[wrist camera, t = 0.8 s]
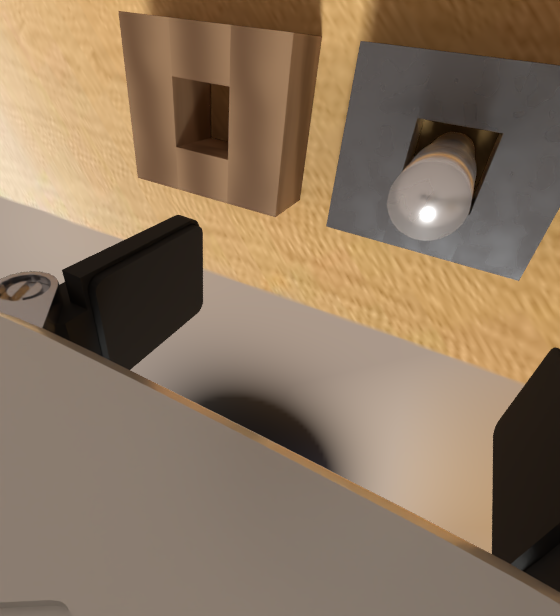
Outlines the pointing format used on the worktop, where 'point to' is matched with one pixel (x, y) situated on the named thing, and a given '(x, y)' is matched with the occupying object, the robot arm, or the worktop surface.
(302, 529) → the robot arm
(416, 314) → the worktop surface
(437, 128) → the worktop surface
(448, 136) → the stepped metal peg
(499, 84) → the socket block
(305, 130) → the block
